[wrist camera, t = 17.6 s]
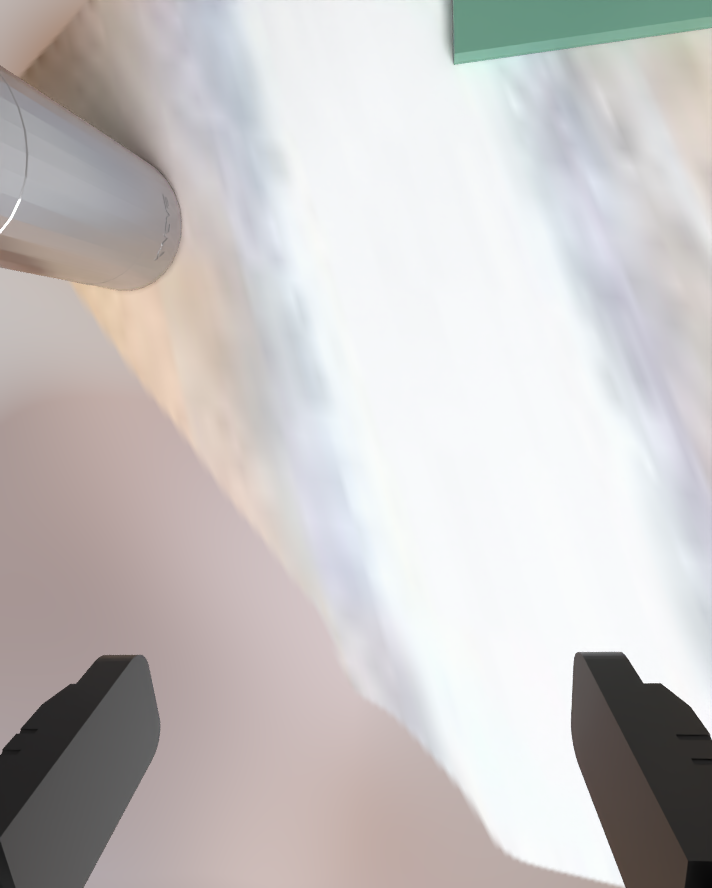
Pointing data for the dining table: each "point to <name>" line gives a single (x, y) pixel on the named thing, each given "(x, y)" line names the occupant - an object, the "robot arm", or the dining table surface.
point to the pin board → (565, 24)
